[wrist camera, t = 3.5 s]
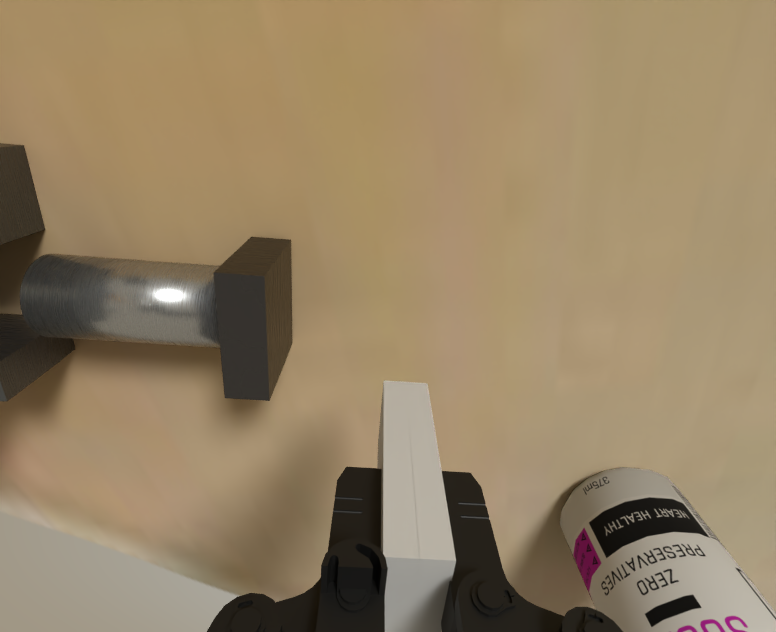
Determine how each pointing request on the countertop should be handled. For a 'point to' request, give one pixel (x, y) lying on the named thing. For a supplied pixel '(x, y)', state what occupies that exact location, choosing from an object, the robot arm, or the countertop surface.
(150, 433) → the countertop surface
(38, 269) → the lynch pin
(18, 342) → the block
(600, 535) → the supplement can
